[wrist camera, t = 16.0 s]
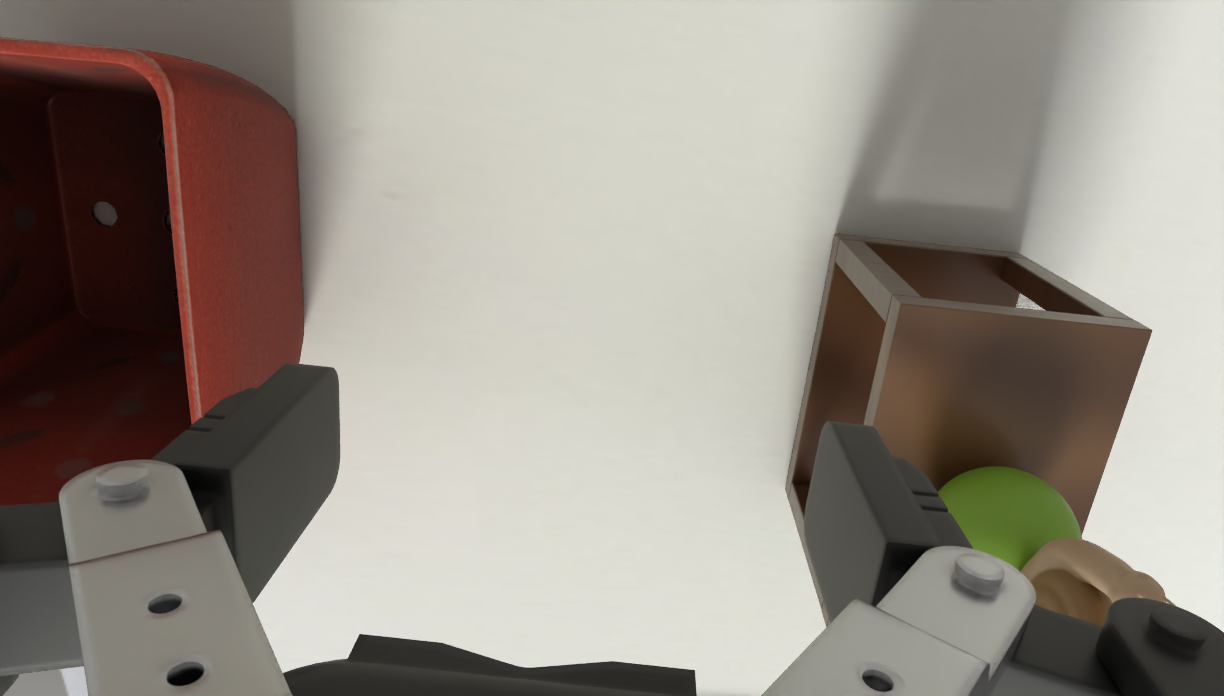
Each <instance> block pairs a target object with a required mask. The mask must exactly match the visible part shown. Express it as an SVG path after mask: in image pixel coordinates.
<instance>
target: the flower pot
mask: <svg viewBox="0 0 1224 696" xmlns="http://www.w3.org/2000/svg"><path fill="white" fill-rule="evenodd" d="M162 133H164V143H165V154H164V153H163V152H162V150H161V148H160V145H159V139H160V136H161V134H162ZM98 201H104V202H108V203H109V204H110V205H112V206H113V207H114V208H115V211H116V214H117V221H116V223H115V224H114V225H113V226H111V227H104V226H101V225H100V224H98V223H97V222H96V221H95V220H94V218H93V216H92V206H93V205H94V204H95V203H96V202H98ZM169 209H170V216H171V227H172V233H170V231H169V230H168V229H167V228H166V225H165V222H164V217H165V215H166V213H167V211H168V210H169ZM176 287H177V290H178V300H179V302H178V301H177V300H176V299H175V297H174V290H176ZM303 336H304V317H303V292H302V268H301V244H300V219H299V194H298V171H297V145H296V128H295V125H294V121H293V120H292V118H291V116H290V115H289V114H288V112H287V111H286V110H285V108H283V107H282V106H281V105H280V104H279V103H278V102H277V101H276V100H275V99H274V98H273V97H271V96H270V95H269V94H267V93H266V92H265V91H263V90H262V89H260V88H259V87H257V86H256V85H254V84H252V83H250V82H248V81H246V80H244V79H242V78H240V77H238V76H236V75H233V74H231V73H229V72H226V71H224V70H221V69H218V68H216V67H213V66H210V65H206V64H203V63H199V62H195V61H191V60H187V59H184V58H180V57H176V56H171V55H167V54H162V53H157V52H151V51H143V50H135V49H127V48H116V47H105V46H94V45H83V44H72V43H60V42H47V41H35V40H24V39H13V38H2V37H0V506H3V505H18V504H33V503H48V502H58V501H59V493H60V491H61V489H62V487H63V486H64V485H65V484H66V483H67V482H68V481H70V480H71V479H72V478H74V477H76V476H77V475H79V474H81V473H83V472H85V471H87V470H90V469H93V468H95V467H98V466H102V465H105V464H110V463H114V462H120V461H127V460H151V459H152V458H153V457H154V456H156V455H157V454H158V453H159V452H160V451H161V450H163V449H164V448H165V447H166V446H167V445H169V444H170V443H171V442H172V441H173V440H175V439H176V438H177V437H178V436H179V435H180V434H182V433H183V432H184V431H185V430H189V429H190V426H191V425H192V424H193V423H195V422H196V421H197V420H198V419H199V418H201V417H202V418H204V414H205V413H206V412H208V411H209V410H210V409H211V408H212V407H214V406H215V405H216V404H217V403H218V402H219V401H221V400H222V399H224V398H227V397H229V396H231V395H234V394H236V393H239V392H241V391H243V390H246V389H248V388H258V387H260V386H261V385H262V384H263V383H264V382H265V381H266V380H267V379H268V378H270V377H271V376H272V375H273V374H274V373H275V372H276V371H277V370H279V369H280V368H281V367H282V366H283V365H284V364H286V363H295V364H299V361H300V356H301V349H302V343H303Z"/></svg>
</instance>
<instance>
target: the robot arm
mask: <svg viewBox="0 0 1224 696" xmlns="http://www.w3.org/2000/svg"><path fill="white" fill-rule="evenodd" d="M339 463H340V419H339V381H338V375H337V372H336V370H335V369H334V368H332V367H323V366H313V365H304V364H295V363H286V364H284V365H283V366H282V367H281V368H280V369H279V370H277V371H276V372H275V373H274V374H273V375H272V376H271V377H270V378H268V379H267V380H266V381H265V382H264V383H263V384H262V385H261V386H260V387H258V388H248V389H246V390H243V391H241V392H239V393H236V394H234V395H231V396H229V397H227V398H224V399H222V400H221V401H219V402H218V403H217V404H216V405H215V406H214V407H212V408H211V409H210V410H209V411H208V412H206V413H205V414H204V418H202V417H201V418H199V419H198V420H197V421H196V422H195V423H193V424H192V425H191V426H190V429H189V430H185V431H184V432H183V433H182V434H180V435H179V436H178V437H177V438H176V439H175V440H173V441H172V442H171V443H170V444H169V445H167V446H166V447H165V448H164V449H163V450H161V451H160V452H159V453H158V454H157V455H156V456H154V457H153V458H152V459H151V460H127V461H120V462H114V463H110V464H105V465H102V466H98V467H95V468H93V469H90V470H87V471H85V472H83V473H81V474H79V475H77V476H76V477H74V478H72V479H71V480H70V481H68V482H67V483H66V484H65V485H64V486H63V487H62V489H61V491H60V493H59V501H58V502H48V503H33V504H18V505H3V506H0V696H3V694H4V693H5V692H6V691H7V690H8V689H9V688H10V687H11V685H12V684H13V683H14V682H15V680H16V679H17V678H18V676H19V674H23V673H31V672H39V671H47V670H54V669H64V668H72V667H80V666H84V669H85V676H86V682H87V689H88V696H696V682H695V670H687V669H678V668H669V667H660V666H650V665H641V664H632V663H623V662H613V661H611V662H598V663H586V664H573V665H561V666H548V667H536V668H524V667H518V666H514V665H511V664H508V663H505V662H501V661H498V660H495V659H492V658H489V657H485V656H482V655H479V654H476V653H472V652H469V651H466V650H463V649H460V648H456V647H453V646H450V645H447V644H444V643H437V642H428V641H419V640H410V639H400V638H391V637H382V636H372V635H363V634H360V635H359V637H358V639H357V641H356V643H355V645H354V647H353V649H352V651H351V653H350V655H349V657H348V659H341V660H334V661H328V662H322V663H316V664H312V665H308V666H304V667H300V668H296V669H293V670H290V671H288V672H285V673H282V671H281V669H280V666H279V664H278V662H277V659H276V657H275V655H274V652H273V650H272V648H271V645H270V643H269V641H268V638H267V636H266V634H265V632H264V629H263V627H262V625H261V622H260V620H259V618H258V615H257V613H256V611H255V608H254V606H253V602H254V601H255V600H256V598H257V597H258V595H259V594H260V592H261V591H262V590H263V588H264V587H265V585H266V584H267V583H268V581H269V580H270V578H271V577H272V575H273V574H274V573H275V571H276V570H277V568H278V567H279V565H280V564H281V563H282V561H283V560H284V558H285V557H286V555H287V554H288V553H289V551H290V550H291V548H292V547H293V545H294V544H295V543H296V541H297V540H298V538H299V537H300V535H301V534H302V533H303V531H304V530H305V528H306V527H307V525H308V524H309V523H310V521H311V520H312V518H313V517H314V515H315V514H316V513H317V511H318V510H319V508H320V507H321V505H322V504H323V503H324V501H325V500H326V498H327V497H328V495H329V494H330V493H331V491H332V489H333V487H334V484H335V482H336V478H337V475H338V470H339ZM804 536H805V543H806V546H807V550H808V553H809V556H810V559H811V562H812V566H813V569H814V572H815V575H816V579H817V582H818V585H819V588H820V591H821V595H822V598H823V601H824V604H825V608H826V611H827V614H828V617H829V621H830V624H829V626H828V627H827V628H826V629H825V630H824V631H823V632H822V633H821V634H820V635H819V636H818V637H817V638H816V639H815V640H814V641H813V642H812V643H811V644H810V645H809V646H808V647H807V648H806V649H805V651H804V652H803V653H802V654H801V655H800V656H799V657H798V658H797V659H796V660H795V661H794V662H793V663H792V664H791V665H790V666H789V667H788V668H787V669H786V670H785V671H784V672H783V673H782V674H781V676H780V677H779V678H778V679H777V680H776V681H775V682H774V683H773V684H772V685H771V686H770V687H769V688H768V689H767V690H766V691H765V692H764V693H763V694H762V695H761V696H1224V633H1223V632H1222V631H1221V630H1220V629H1218V628H1217V627H1215V626H1214V625H1212V624H1211V623H1209V622H1207V621H1206V620H1204V619H1202V618H1201V617H1199V616H1197V615H1195V614H1193V613H1191V612H1189V611H1186V610H1184V609H1181V608H1179V607H1176V606H1173V605H1170V604H1168V603H1164V602H1160V601H1157V600H1152V599H1146V598H1123V599H1119V600H1117V601H1115V602H1114V603H1113V604H1111V606H1110V608H1109V611H1108V613H1107V616H1106V619H1105V621H1104V624H1103V626H1101V625H1098V624H1094V623H1091V622H1088V621H1084V620H1081V619H1077V618H1074V617H1071V616H1067V615H1064V614H1060V613H1057V612H1054V611H1051V610H1048V609H1045V608H1042V607H1040V606H1038V605H1035V601H1036V592H1035V589H1034V587H1033V585H1032V584H1031V582H1030V581H1029V580H1028V579H1027V578H1026V577H1025V576H1024V575H1023V574H1022V573H1021V572H1020V571H1019V570H1017V569H1016V568H1014V567H1013V566H1012V565H1010V564H1008V563H1006V562H1005V561H1003V560H1001V559H999V558H997V557H995V556H992V555H990V554H987V553H984V552H981V551H978V550H975V549H973V547H972V546H971V544H970V542H969V541H968V539H967V538H966V536H965V535H964V533H963V531H962V530H961V528H960V527H959V525H958V524H957V522H956V520H955V519H954V517H953V516H952V514H951V513H948V508H947V506H946V505H945V503H944V501H943V500H942V498H940V497H939V494H938V492H937V490H936V489H935V487H934V486H933V484H932V483H931V481H930V479H929V478H928V476H927V475H925V474H924V473H923V472H921V471H920V470H919V469H917V468H916V467H915V466H914V465H912V464H911V463H910V462H908V461H907V460H906V459H904V458H895V457H892V456H891V455H890V453H889V451H888V449H887V448H886V446H885V444H884V442H883V441H882V439H881V437H880V436H879V434H878V432H877V430H876V429H875V427H873V426H869V425H859V424H850V423H840V422H831V421H827V422H826V423H825V424H824V426H823V428H822V431H821V435H820V439H819V444H818V449H817V453H816V458H815V463H814V468H813V473H812V478H811V483H810V487H809V492H808V497H807V502H806V507H805V516H804Z"/></svg>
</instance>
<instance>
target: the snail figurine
mask: <svg viewBox="0 0 1224 696" xmlns="http://www.w3.org/2000/svg"><path fill="white" fill-rule="evenodd" d="M938 494H939V497H940V498H942V500H943V501H944V503H945V505H946V506H947V508H948V513H951V514H952V516H953V517H954V519H955V520H956V522H957V524H958V525H959V527H960V528H961V530H962V531H963V533H964V535H965V536H966V538H967V539H968V541H969V542H970V544H971V546H972V547H973V549H975V550H978V551H981V552H984V553H987V554H990V555H992V556H995V557H997V558H999V559H1001V560H1003V561H1005V562H1006V563H1008V564H1010V565H1012V566H1013V567H1014V568H1016V569H1017V570H1019V571H1020V572H1021V573H1022V574H1023V575H1024V576H1025V577H1026V578H1027V579H1028V580H1029V581H1030V582H1031V584H1032V585H1033V587H1034V589H1035V592H1036V601H1035V605H1038V606H1040V607H1042V608H1045V609H1048V610H1051V611H1054V612H1057V613H1060V614H1064V615H1067V616H1071V617H1074V618H1077V619H1081V620H1084V621H1088V622H1091V623H1094V624H1098V625H1101V626H1103V624H1104V621H1105V619H1106V616H1107V613H1108V611H1109V608H1110V606H1111V604H1113V603H1114V602H1115V601H1117V600H1119V599H1123V598H1146V599H1152V600H1157V601H1160V602H1164V603H1166V602H1167V603H1169V604H1170V605H1173V606H1175V605H1174V604H1173V603H1172V602H1171V601H1170V600H1168V599H1167V598H1166V597H1165V593H1164V590H1163V588H1162V587H1161V586H1160V585H1159V584H1158V582H1156V581H1155V580H1154V579H1153V578H1152V577H1150V576H1149V575H1147V574H1145V573H1142V572H1138V571H1135V570H1133V569H1132V568H1131V567H1130V566H1129V565H1128V564H1127V563H1125V562H1124V561H1123V560H1121V559H1120V558H1118V557H1116V556H1115V555H1113V554H1112V553H1110V552H1108V551H1107V550H1105V549H1103V548H1101V547H1100V546H1098V545H1096V544H1093V543H1091V542H1088V541H1085V540H1082V537H1081V532H1080V528H1079V524H1078V522H1077V519H1076V517H1075V515H1074V513H1073V511H1072V509H1071V508H1070V506H1069V505H1068V503H1067V502H1066V500H1065V499H1064V498H1063V497H1062V496H1061V495H1060V494H1059V493H1058V492H1057V491H1056V490H1055V489H1054V488H1053V487H1052V486H1050V485H1049V484H1048V483H1046V482H1045V481H1043V480H1042V479H1040V478H1038V477H1036V476H1034V475H1032V474H1030V473H1028V472H1025V471H1022V470H1019V469H1015V468H1009V467H1001V466H990V467H981V468H977V469H973V470H970V471H967V472H964V473H962V474H960V475H958V476H956V477H955V478H953V479H952V480H950V481H949V482H948V483H946V484H945V485H944V486H943V487H942V488H941V489H940V490H939V491H938Z"/></svg>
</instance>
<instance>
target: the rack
mask: <svg viewBox="0 0 1224 696" xmlns="http://www.w3.org/2000/svg"><path fill="white" fill-rule="evenodd" d="M1020 293H1021V294H1023V295H1024V296H1026V297H1027V298H1029V299H1030V300H1032V301H1033V302H1035V303H1036V304H1037V305H1039V306H1040V307H1042V308H1043V309H1045V310H1046V311H1042V310H1033V309H1023V308H1016V304H1017V301H1018V297H1019V294H1020ZM1151 333H1152V330H1151V329H1149V328H1148V327H1146V326H1144V325H1142V324H1141V323H1139V322H1137V321H1135V320H1133V319H1131V318H1130V317H1128V316H1126V315H1125V314H1123V313H1121V312H1119V311H1118V310H1116V309H1114V308H1112V307H1111V306H1109V305H1107V304H1106V303H1104V302H1102V301H1100V300H1099V299H1097V298H1095V297H1094V296H1092V295H1090V294H1088V293H1087V292H1085V291H1083V290H1081V289H1080V288H1078V287H1076V286H1075V285H1073V284H1071V283H1069V282H1068V281H1066V280H1064V279H1063V278H1061V277H1059V276H1057V275H1056V274H1054V273H1052V272H1050V271H1049V270H1047V269H1045V268H1044V267H1042V266H1040V265H1038V264H1037V263H1035V262H1033V261H1032V260H1030V259H1028V258H1026V257H1025V256H1023V255H1021V254H1019V253H1012V252H1003V251H993V250H984V249H974V248H965V247H955V246H946V245H936V244H927V243H917V242H908V241H898V240H889V239H879V238H870V237H860V236H851V235H841V234H835V236H834V241H833V246H832V251H831V256H830V262H829V267H828V272H827V277H826V282H825V287H824V292H823V298H822V303H821V308H820V313H819V318H818V323H817V328H816V334H815V339H814V344H813V349H812V354H811V359H810V364H809V369H808V375H807V380H806V385H805V390H804V395H803V400H802V405H801V411H800V416H799V421H798V426H797V431H796V436H795V441H794V446H793V452H792V457H791V462H790V467H789V472H788V477H787V482H786V488H785V490H786V493H787V497H788V500H789V503H790V506H791V510H792V513H793V516H794V520H795V523H796V526H797V530H798V533H799V536H800V540H801V543H802V546H803V550H804V553H805V556H806V559H807V563H808V566H809V569H810V573H811V576H812V579H813V583H814V586H815V589H816V593H817V596H818V599H819V602H820V606H821V609H822V614H823V617H824V620H825V624H826V627H828V626H829V624H830V621H829V617H828V614H827V611H826V608H825V604H824V601H823V598H822V595H821V591H820V588H819V585H818V582H817V579H816V575H815V572H814V569H813V566H812V562H811V559H810V556H809V553H808V550H807V546H806V543H805V536H804V516H805V507H806V502H807V497H808V492H809V487H810V483H811V478H812V473H813V468H814V463H815V458H816V453H817V449H818V444H819V439H820V435H821V431H822V428H823V426H824V424H825V423H826V422H827V421H831V422H840V423H850V424H859V425H869V426H873V427H875V429H876V430H877V432H878V434H879V436H880V437H881V439H882V441H883V442H884V444H885V446H886V448H887V449H888V451H889V453H890V455H891V456H892V457H895V458H904V459H906V460H907V461H908V462H910V463H911V464H912V465H914V466H915V467H916V468H917V469H919V470H920V471H921V472H923V473H924V474H925V475H927V476H928V478H929V479H930V481H931V483H932V484H933V486H934V487H935V489H936V490H937V492H938V491H939V490H940V489H941V488H942V487H943V486H944V485H945V484H946V483H948V482H949V481H950V480H952V479H953V478H955V477H956V476H958V475H960V474H962V473H964V472H967V471H970V470H973V469H977V468H981V467H990V466H1001V467H1009V468H1015V469H1019V470H1022V471H1025V472H1028V473H1030V474H1032V475H1034V476H1036V477H1038V478H1040V479H1042V480H1043V481H1045V482H1046V483H1048V484H1049V485H1050V486H1052V487H1053V488H1054V489H1055V490H1056V491H1057V492H1058V493H1059V494H1060V495H1061V496H1062V497H1063V498H1064V499H1065V500H1066V502H1067V503H1068V505H1069V506H1070V508H1071V509H1072V511H1073V513H1074V515H1075V517H1076V519H1077V522H1078V524H1079V528H1080V532H1081V536H1082V533H1083V530H1084V527H1085V524H1086V521H1087V518H1088V515H1089V513H1090V510H1091V507H1092V504H1093V501H1094V498H1095V495H1096V492H1097V489H1098V486H1099V484H1100V481H1101V478H1102V475H1103V472H1104V469H1105V466H1106V463H1107V460H1108V457H1109V455H1110V452H1111V449H1112V446H1113V443H1114V440H1115V437H1116V434H1117V431H1118V429H1119V426H1120V423H1121V420H1122V417H1123V414H1124V411H1125V408H1126V405H1127V402H1128V400H1129V397H1130V394H1131V391H1132V388H1133V385H1134V382H1135V379H1136V376H1137V373H1138V371H1139V368H1140V365H1141V362H1142V359H1143V356H1144V353H1145V350H1146V347H1147V345H1148V342H1149V339H1150V336H1151Z"/></svg>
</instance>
